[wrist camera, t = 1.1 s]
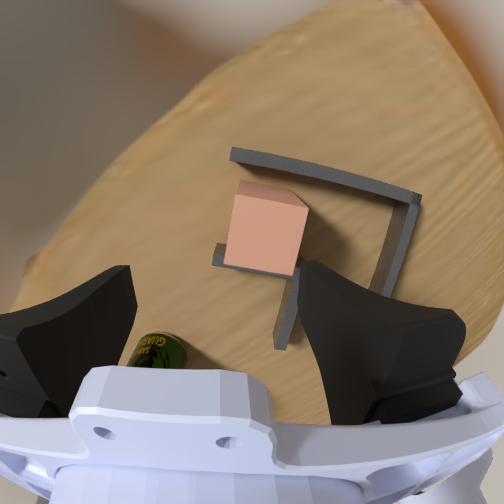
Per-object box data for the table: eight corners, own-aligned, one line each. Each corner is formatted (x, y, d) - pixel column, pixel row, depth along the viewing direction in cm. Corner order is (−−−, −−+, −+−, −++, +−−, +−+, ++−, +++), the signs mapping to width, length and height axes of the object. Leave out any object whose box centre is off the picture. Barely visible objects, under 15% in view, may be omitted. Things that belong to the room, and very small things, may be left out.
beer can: (198, 360, 29) (178, 455, 17) (158, 373, 30) (129, 460, 18) (169, 321, 27) (131, 414, 16) (129, 338, 28) (84, 422, 17)
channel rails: (408, 190, 23) (422, 194, 21) (356, 342, 28) (363, 357, 26) (234, 147, 22) (231, 146, 20) (205, 322, 27) (201, 337, 25)
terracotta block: (289, 189, 23) (308, 208, 16) (279, 236, 24) (292, 275, 17) (240, 180, 23) (235, 194, 15) (231, 227, 24) (223, 263, 17)
